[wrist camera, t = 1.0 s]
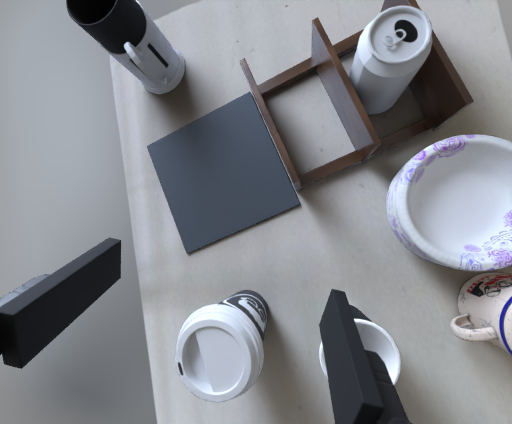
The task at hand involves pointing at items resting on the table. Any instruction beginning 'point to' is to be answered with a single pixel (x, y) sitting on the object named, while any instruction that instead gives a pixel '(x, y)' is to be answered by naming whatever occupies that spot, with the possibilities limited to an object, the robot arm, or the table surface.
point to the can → (390, 56)
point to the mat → (221, 174)
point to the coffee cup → (223, 347)
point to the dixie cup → (373, 344)
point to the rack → (350, 107)
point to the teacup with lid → (486, 310)
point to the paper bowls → (456, 203)
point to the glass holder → (131, 40)
